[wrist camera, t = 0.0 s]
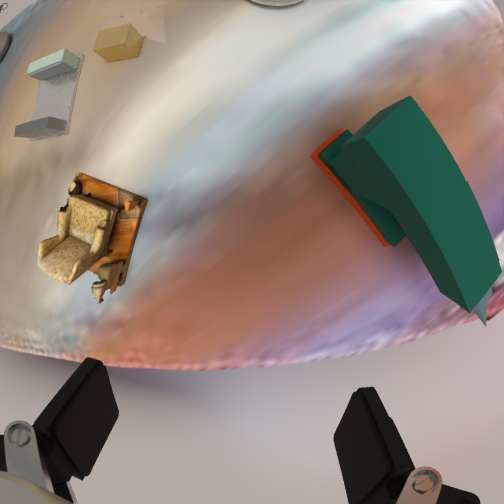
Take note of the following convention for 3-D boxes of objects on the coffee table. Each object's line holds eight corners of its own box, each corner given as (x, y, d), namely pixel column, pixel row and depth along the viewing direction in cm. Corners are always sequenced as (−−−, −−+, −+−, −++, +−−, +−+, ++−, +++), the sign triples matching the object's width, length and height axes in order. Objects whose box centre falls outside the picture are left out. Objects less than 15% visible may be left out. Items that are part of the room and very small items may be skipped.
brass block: (114, 44, 32) (98, 31, 26) (143, 38, 32) (130, 23, 26) (109, 62, 33) (92, 50, 27) (139, 57, 33) (124, 43, 27)
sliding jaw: (44, 69, 31) (29, 63, 26) (79, 57, 31) (65, 48, 26) (41, 81, 32) (26, 76, 27) (75, 69, 32) (60, 62, 27)
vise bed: (46, 68, 32) (29, 61, 26) (84, 55, 32) (68, 45, 26) (31, 140, 36) (12, 139, 30) (68, 133, 36) (48, 130, 30)
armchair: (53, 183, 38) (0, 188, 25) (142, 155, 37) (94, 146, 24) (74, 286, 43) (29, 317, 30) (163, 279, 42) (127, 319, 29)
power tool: (443, 272, 41) (514, 316, 22) (418, 298, 42) (484, 354, 23) (342, 127, 36) (409, 87, 16) (309, 156, 37) (359, 131, 18)
